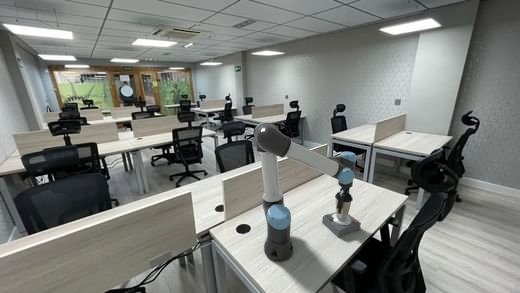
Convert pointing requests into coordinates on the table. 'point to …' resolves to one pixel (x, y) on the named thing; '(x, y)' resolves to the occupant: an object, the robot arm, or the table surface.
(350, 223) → the grey dome button box
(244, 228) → the table surface
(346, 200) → the coffee cup
